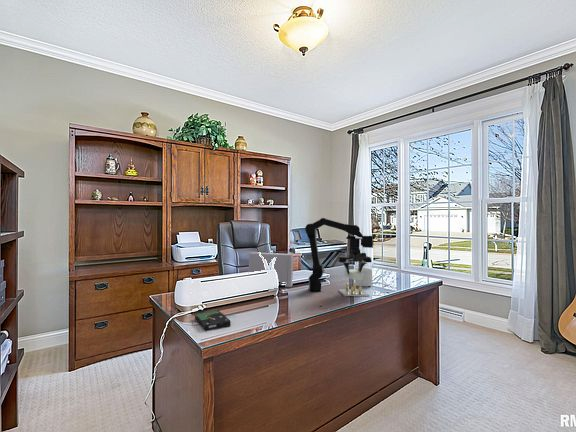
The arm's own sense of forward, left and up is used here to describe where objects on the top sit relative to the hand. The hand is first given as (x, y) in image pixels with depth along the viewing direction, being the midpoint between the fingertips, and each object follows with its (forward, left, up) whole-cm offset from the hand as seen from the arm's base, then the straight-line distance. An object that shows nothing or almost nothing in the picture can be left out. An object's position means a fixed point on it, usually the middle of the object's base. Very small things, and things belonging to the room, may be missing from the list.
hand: (353, 274), depth 169 cm
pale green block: (0, 0, -2) cm, 2 cm away
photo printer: (+13, +18, -11) cm, 25 cm away
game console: (-46, +23, -11) cm, 53 cm away
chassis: (0, 0, -11) cm, 11 cm away
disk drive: (-73, -41, -12) cm, 85 cm away
